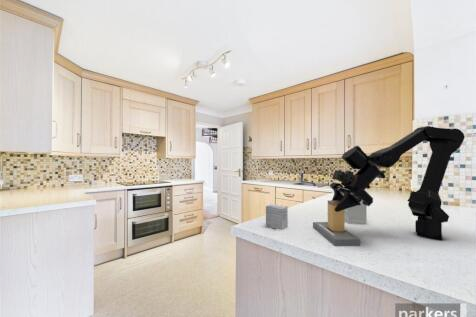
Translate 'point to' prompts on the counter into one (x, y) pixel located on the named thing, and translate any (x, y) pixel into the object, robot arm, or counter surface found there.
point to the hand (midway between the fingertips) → (332, 209)
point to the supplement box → (356, 214)
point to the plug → (335, 217)
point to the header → (336, 235)
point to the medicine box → (276, 216)
